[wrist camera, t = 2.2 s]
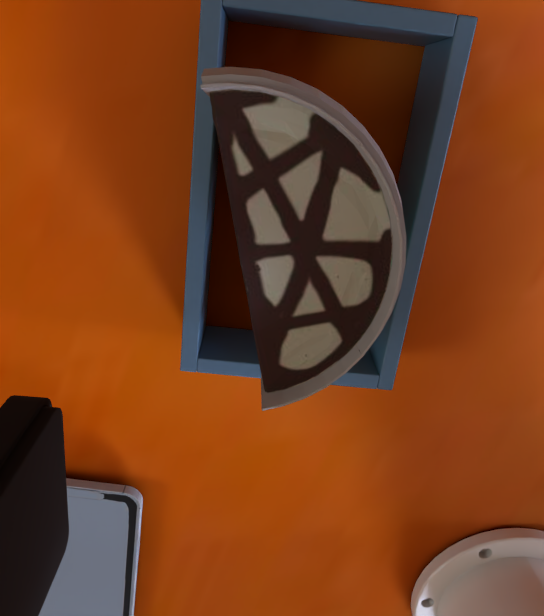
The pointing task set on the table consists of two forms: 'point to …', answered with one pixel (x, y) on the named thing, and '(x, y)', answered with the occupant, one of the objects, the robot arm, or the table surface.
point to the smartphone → (98, 552)
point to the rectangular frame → (411, 183)
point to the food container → (306, 227)
